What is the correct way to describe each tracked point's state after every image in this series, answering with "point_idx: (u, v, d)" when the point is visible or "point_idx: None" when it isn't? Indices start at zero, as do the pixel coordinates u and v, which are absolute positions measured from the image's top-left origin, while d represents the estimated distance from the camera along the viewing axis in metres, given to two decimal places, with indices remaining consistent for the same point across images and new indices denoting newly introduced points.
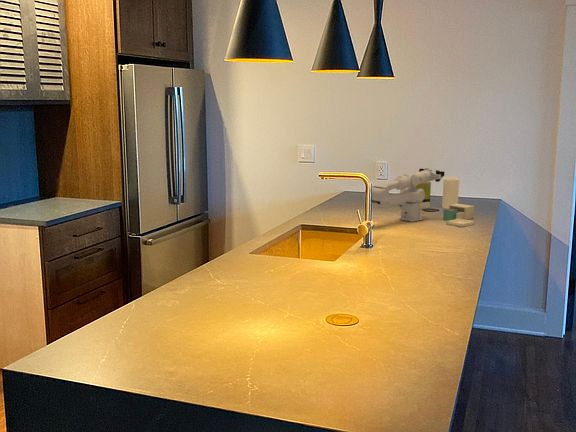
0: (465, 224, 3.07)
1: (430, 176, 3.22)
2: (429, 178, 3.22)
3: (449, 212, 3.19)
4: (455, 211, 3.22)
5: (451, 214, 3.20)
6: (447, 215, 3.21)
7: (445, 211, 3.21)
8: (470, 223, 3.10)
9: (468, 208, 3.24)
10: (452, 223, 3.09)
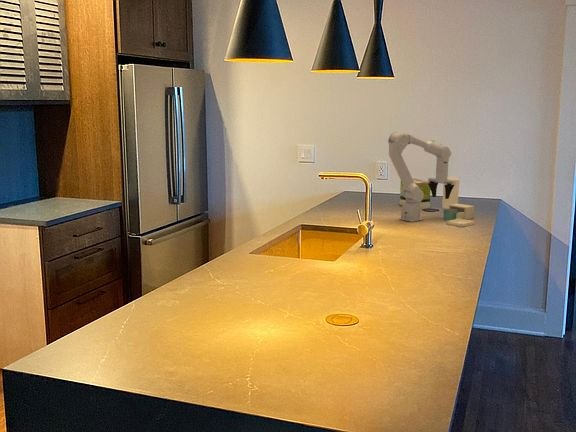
0: (465, 224, 3.07)
1: (446, 178, 3.21)
2: (445, 177, 3.21)
3: (449, 212, 3.19)
4: (455, 211, 3.22)
5: (451, 214, 3.20)
6: (447, 215, 3.21)
7: (445, 211, 3.21)
8: (470, 223, 3.10)
9: (468, 208, 3.24)
10: (452, 223, 3.09)
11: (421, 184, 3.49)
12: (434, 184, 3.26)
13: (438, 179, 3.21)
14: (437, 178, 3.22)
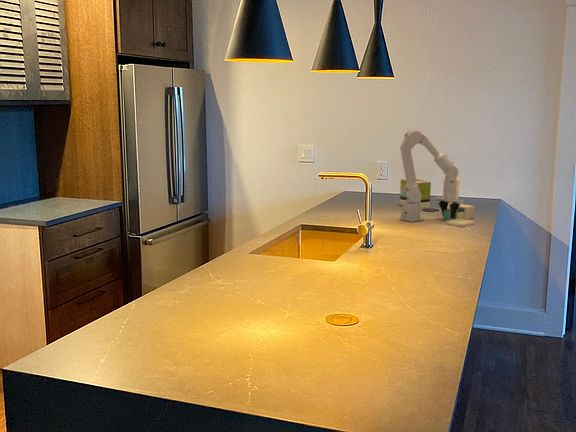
0: (465, 224, 3.07)
1: (454, 198, 3.18)
2: (453, 197, 3.18)
3: (449, 212, 3.19)
4: None
5: None
6: (447, 215, 3.21)
7: (445, 211, 3.21)
8: (470, 223, 3.10)
9: (468, 208, 3.24)
10: (452, 223, 3.09)
11: (421, 184, 3.49)
12: (445, 204, 3.22)
13: (446, 198, 3.18)
14: (445, 197, 3.19)
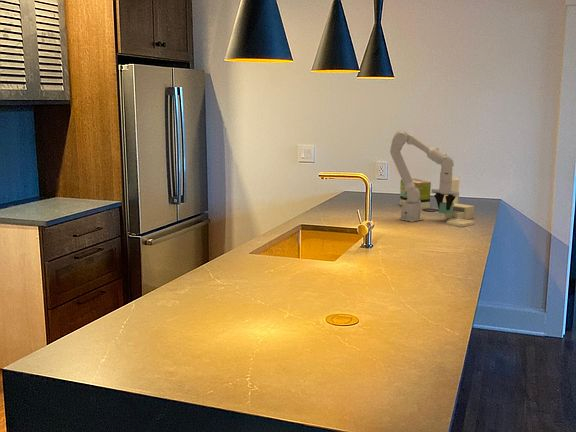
0: (465, 224, 3.07)
1: (450, 190, 3.15)
2: (449, 189, 3.14)
3: (445, 204, 3.16)
4: None
5: None
6: (443, 207, 3.17)
7: (441, 203, 3.18)
8: (470, 223, 3.10)
9: (468, 208, 3.24)
10: (452, 223, 3.09)
11: (421, 184, 3.49)
12: (440, 196, 3.19)
13: (442, 190, 3.15)
14: (441, 189, 3.15)
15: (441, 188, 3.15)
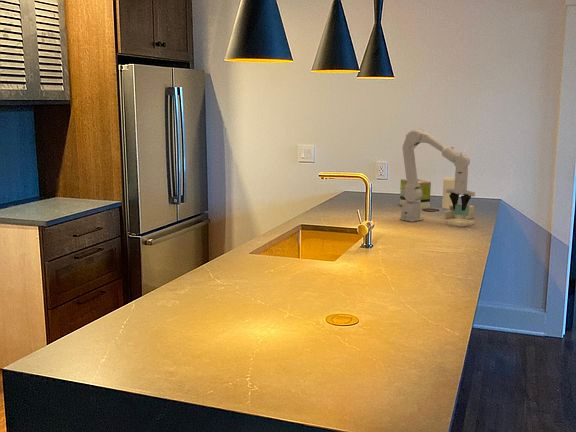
0: (465, 224, 3.07)
1: (465, 189, 3.05)
2: (464, 188, 3.05)
3: (461, 206, 3.08)
4: (467, 206, 3.10)
5: None
6: (459, 209, 3.08)
7: (457, 205, 3.09)
8: (470, 223, 3.10)
9: None
10: (452, 223, 3.09)
11: (421, 184, 3.49)
12: (455, 196, 3.10)
13: (457, 190, 3.06)
14: (456, 189, 3.06)
15: (456, 188, 3.06)
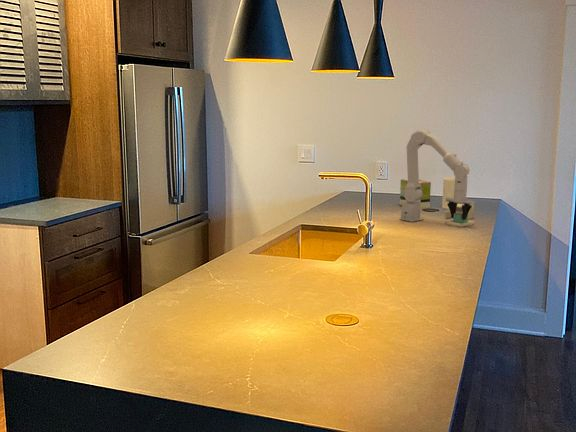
0: (465, 224, 3.07)
1: (465, 198, 3.06)
2: (463, 197, 3.06)
3: (459, 215, 3.08)
4: None
5: (461, 217, 3.08)
6: (457, 218, 3.09)
7: (455, 214, 3.10)
8: (470, 223, 3.10)
9: None
10: (452, 223, 3.09)
11: (421, 184, 3.49)
12: (453, 204, 3.11)
13: (456, 199, 3.06)
14: (455, 198, 3.07)
15: (456, 197, 3.07)
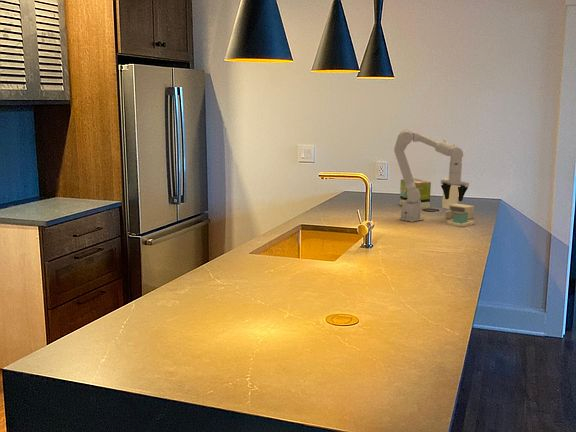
0: (465, 224, 3.07)
1: (460, 180, 3.14)
2: (458, 179, 3.13)
3: (459, 215, 3.08)
4: (465, 214, 3.10)
5: (461, 217, 3.08)
6: (457, 218, 3.09)
7: (455, 214, 3.10)
8: (470, 223, 3.10)
9: (468, 208, 3.24)
10: (452, 223, 3.09)
11: (421, 184, 3.49)
12: (447, 186, 3.19)
13: (451, 181, 3.14)
14: (450, 180, 3.14)
15: (450, 179, 3.14)
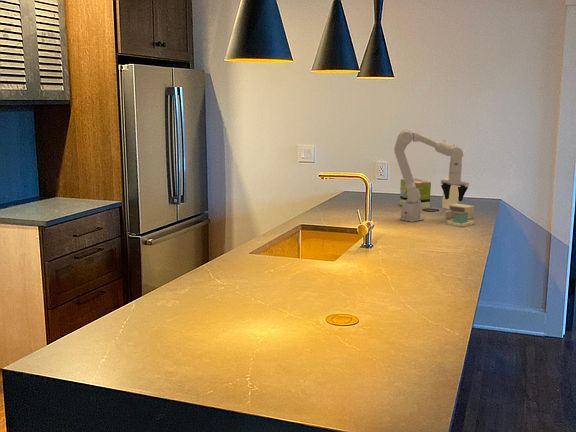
0: (465, 224, 3.07)
1: (460, 180, 3.14)
2: (458, 179, 3.13)
3: (459, 215, 3.08)
4: (465, 214, 3.10)
5: (461, 217, 3.08)
6: (457, 218, 3.09)
7: (455, 214, 3.10)
8: (470, 223, 3.10)
9: (468, 208, 3.24)
10: (452, 223, 3.09)
11: (421, 184, 3.49)
12: (447, 186, 3.19)
13: (451, 181, 3.14)
14: (450, 180, 3.14)
15: (450, 178, 3.14)
